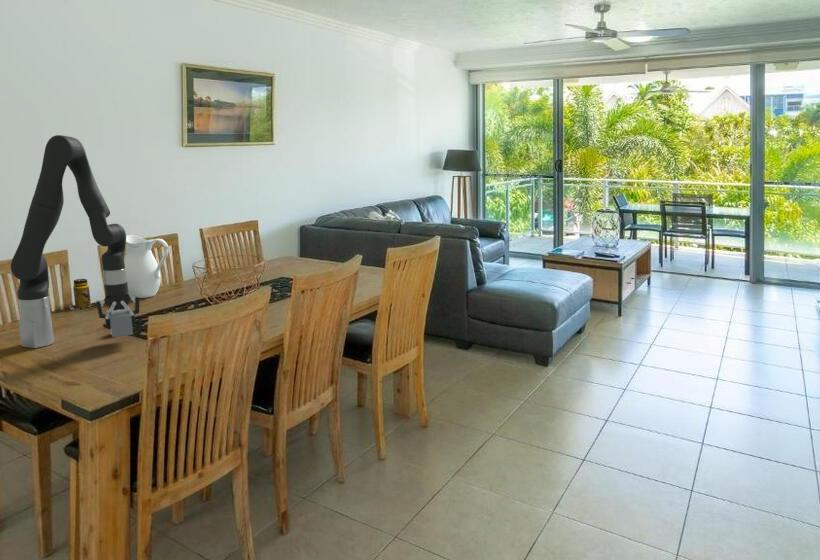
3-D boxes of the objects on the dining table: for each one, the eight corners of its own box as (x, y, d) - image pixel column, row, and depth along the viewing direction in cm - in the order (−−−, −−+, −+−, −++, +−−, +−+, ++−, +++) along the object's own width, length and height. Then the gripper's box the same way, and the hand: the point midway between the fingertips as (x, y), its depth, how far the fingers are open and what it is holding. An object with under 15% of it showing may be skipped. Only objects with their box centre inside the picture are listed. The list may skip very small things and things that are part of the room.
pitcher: (114, 298, 285) (108, 238, 279) (140, 290, 301) (135, 233, 295) (158, 302, 279) (153, 241, 272) (182, 294, 294) (178, 235, 288)
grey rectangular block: (133, 334, 219) (131, 315, 217) (112, 337, 215) (110, 318, 214) (129, 326, 228) (127, 308, 226) (109, 329, 225) (107, 310, 223)
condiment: (92, 307, 270) (90, 280, 267) (70, 310, 265) (67, 282, 263) (90, 303, 276) (87, 277, 273) (69, 306, 271) (65, 279, 269)
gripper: (93, 286, 211) (99, 333, 215) (139, 281, 218) (143, 326, 221) (92, 281, 217) (97, 327, 221) (136, 277, 224) (141, 321, 228)
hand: (120, 326), depth 221 cm, fingers closed on grey rectangular block, 6 cm apart
